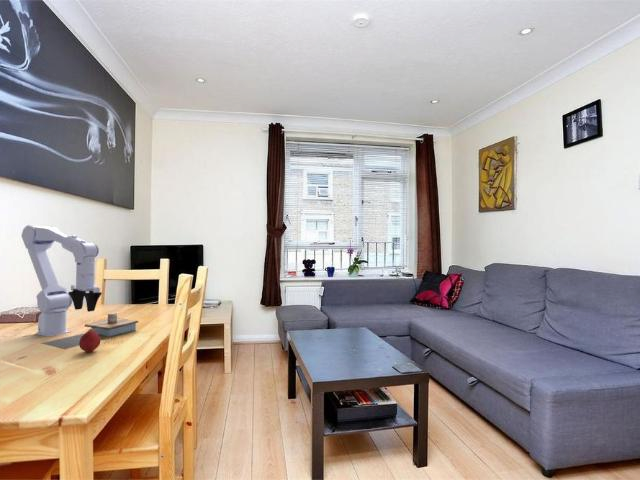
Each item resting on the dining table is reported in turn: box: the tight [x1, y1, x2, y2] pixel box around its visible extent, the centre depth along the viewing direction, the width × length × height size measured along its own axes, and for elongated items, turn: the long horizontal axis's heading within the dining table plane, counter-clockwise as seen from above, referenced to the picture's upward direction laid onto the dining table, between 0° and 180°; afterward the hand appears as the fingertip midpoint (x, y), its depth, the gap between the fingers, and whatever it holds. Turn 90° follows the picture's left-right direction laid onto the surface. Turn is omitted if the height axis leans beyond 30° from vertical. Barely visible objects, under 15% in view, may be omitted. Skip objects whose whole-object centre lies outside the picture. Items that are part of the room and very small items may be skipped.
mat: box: [40, 333, 106, 350], centre depth 122 cm, size 14×14×1 cm
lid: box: [84, 312, 139, 330], centre depth 134 cm, size 13×13×4 cm
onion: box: [79, 327, 102, 353], centre depth 111 cm, size 6×6×8 cm
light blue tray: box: [90, 323, 137, 338], centre depth 135 cm, size 11×11×4 cm
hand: (84, 310), depth 128 cm, fingers open, 7 cm apart
